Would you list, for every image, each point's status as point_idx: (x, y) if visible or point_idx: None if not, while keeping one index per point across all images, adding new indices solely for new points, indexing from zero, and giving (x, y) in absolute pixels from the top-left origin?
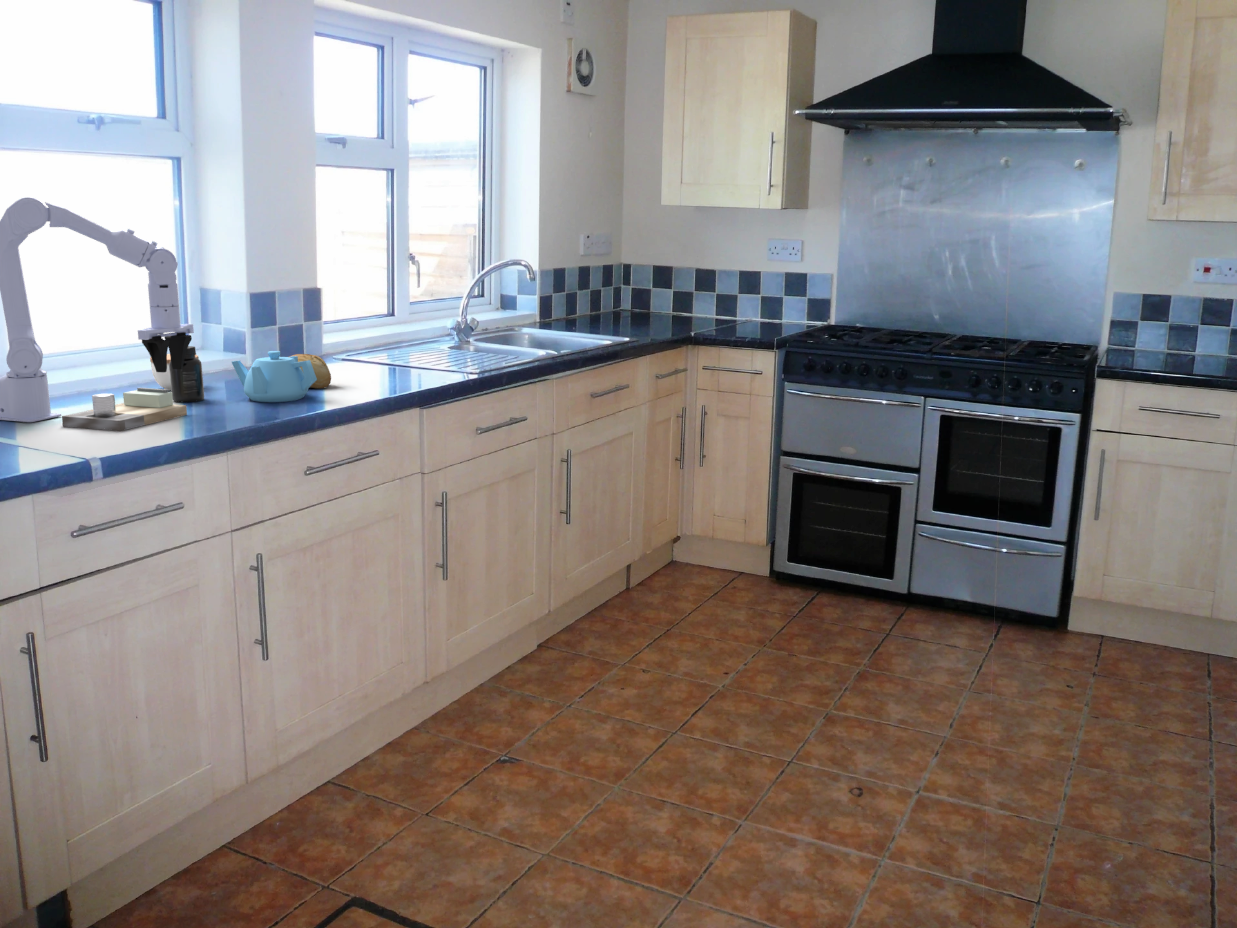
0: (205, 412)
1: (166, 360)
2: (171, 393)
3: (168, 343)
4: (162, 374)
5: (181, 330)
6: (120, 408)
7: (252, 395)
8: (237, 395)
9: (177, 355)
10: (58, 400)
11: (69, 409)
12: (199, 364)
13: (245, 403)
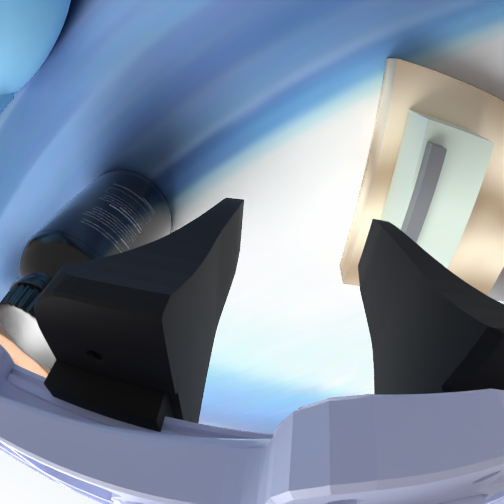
0: (321, 18)
1: (403, 247)
2: (430, 119)
3: (476, 317)
4: None
5: (459, 404)
6: (467, 246)
7: (67, 7)
8: (20, 140)
9: (222, 269)
10: (246, 416)
11: (336, 376)
12: (43, 233)
13: (106, 9)
